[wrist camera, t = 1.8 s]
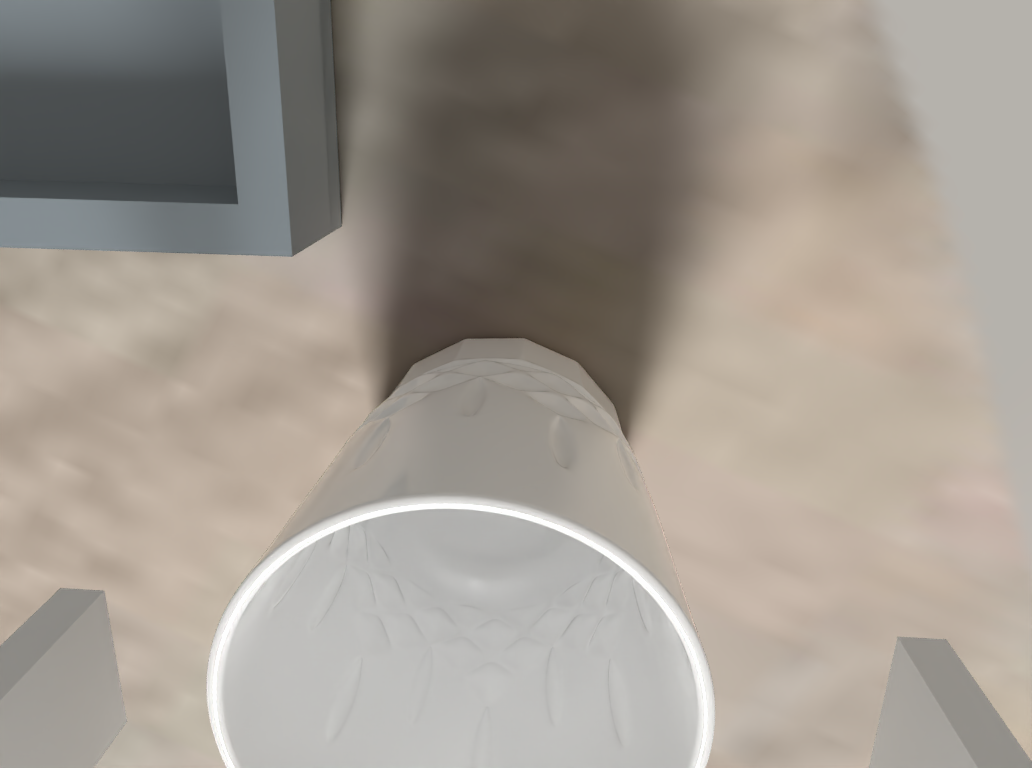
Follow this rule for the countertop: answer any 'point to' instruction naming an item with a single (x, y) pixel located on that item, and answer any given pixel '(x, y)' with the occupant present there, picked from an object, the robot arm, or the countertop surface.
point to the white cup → (469, 591)
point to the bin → (168, 125)
